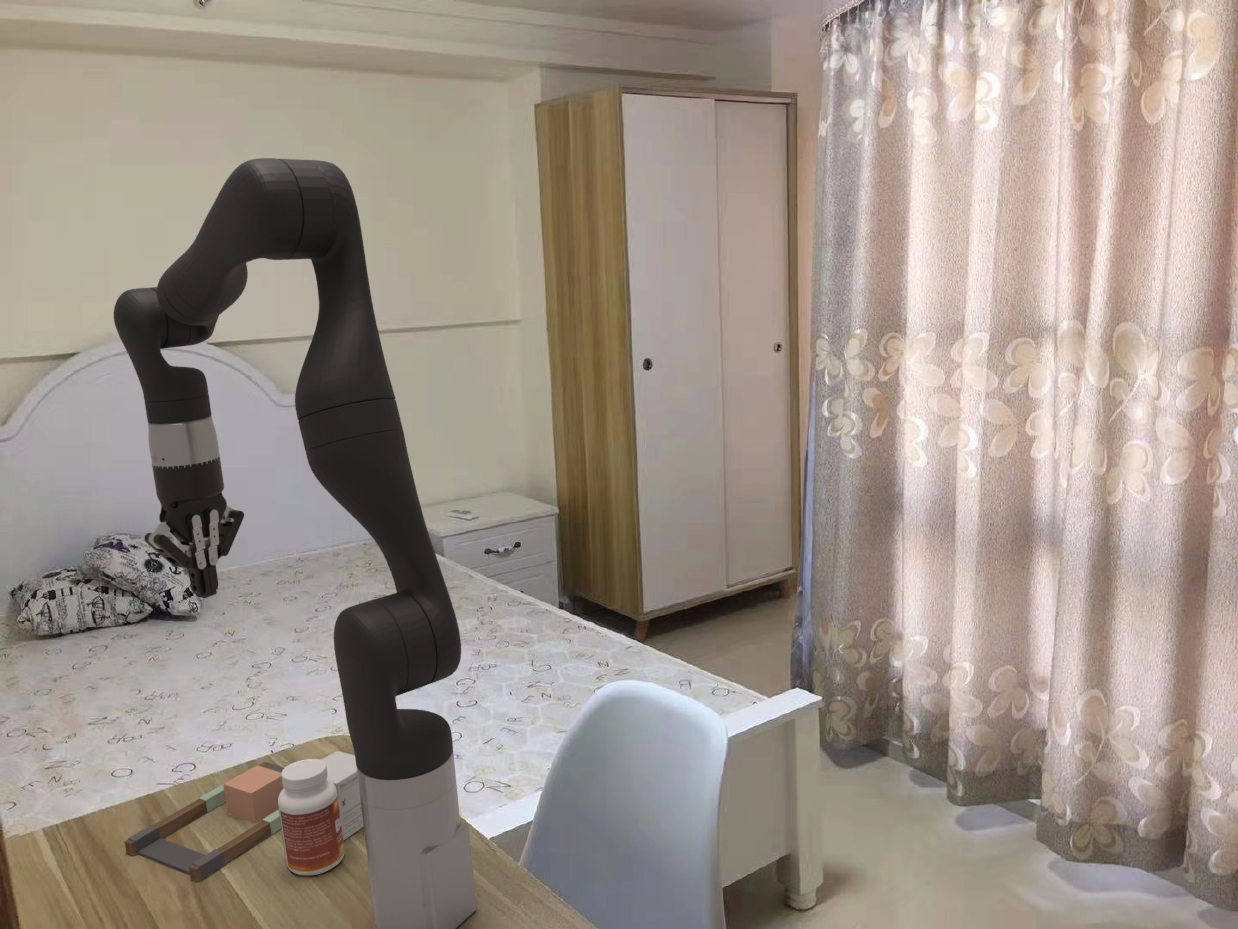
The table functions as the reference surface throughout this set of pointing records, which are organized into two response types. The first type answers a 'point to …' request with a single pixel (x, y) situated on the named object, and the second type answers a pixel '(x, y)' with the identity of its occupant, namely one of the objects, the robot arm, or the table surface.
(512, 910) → the table surface
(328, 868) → the pill bottle
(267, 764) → the frame
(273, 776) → the terracotta block
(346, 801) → the product box
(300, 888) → the table surface
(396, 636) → the robot arm
